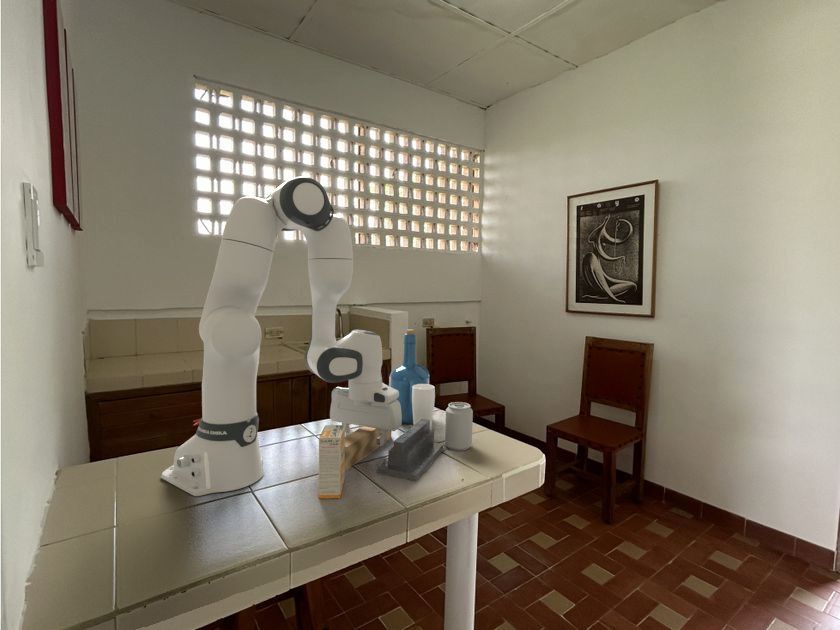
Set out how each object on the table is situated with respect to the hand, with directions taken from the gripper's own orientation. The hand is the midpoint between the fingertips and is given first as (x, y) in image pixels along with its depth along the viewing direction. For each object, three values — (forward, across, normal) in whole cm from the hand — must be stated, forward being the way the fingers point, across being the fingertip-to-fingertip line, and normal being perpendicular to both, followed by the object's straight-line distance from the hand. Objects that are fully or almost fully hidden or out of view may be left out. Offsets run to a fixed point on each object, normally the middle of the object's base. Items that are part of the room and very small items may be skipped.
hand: (364, 441), depth 111 cm
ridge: (+3, +14, 0) cm, 14 cm away
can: (+3, +22, +14) cm, 26 cm away
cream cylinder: (+3, +10, +17) cm, 20 cm away
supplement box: (+3, +4, -21) cm, 22 cm away
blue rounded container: (+3, 0, +30) cm, 30 cm away
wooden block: (+3, 0, 0) cm, 3 cm away
